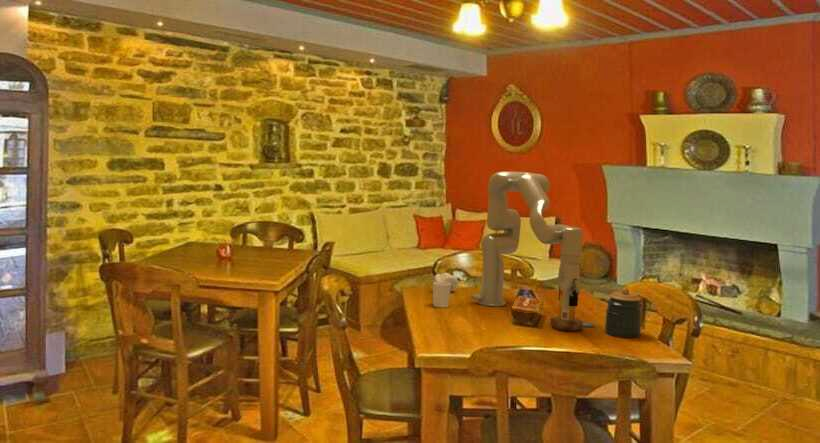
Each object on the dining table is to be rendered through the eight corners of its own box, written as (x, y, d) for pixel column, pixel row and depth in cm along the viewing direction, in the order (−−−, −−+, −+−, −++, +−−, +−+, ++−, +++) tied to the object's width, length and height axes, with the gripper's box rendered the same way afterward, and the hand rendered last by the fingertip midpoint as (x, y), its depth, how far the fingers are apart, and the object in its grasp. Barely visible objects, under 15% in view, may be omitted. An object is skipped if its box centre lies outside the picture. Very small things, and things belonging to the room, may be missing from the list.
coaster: (581, 327, 235) (581, 325, 235) (573, 322, 242) (573, 321, 242) (598, 327, 236) (598, 325, 236) (590, 322, 243) (590, 321, 243)
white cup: (429, 306, 260) (430, 283, 259) (435, 303, 267) (436, 280, 266) (446, 308, 257) (447, 285, 256) (452, 305, 264) (453, 282, 263)
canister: (636, 340, 220) (640, 293, 218) (600, 334, 226) (603, 288, 225) (643, 332, 231) (647, 287, 229) (609, 326, 238) (612, 282, 236)
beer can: (575, 319, 235) (577, 281, 234) (573, 323, 230) (576, 284, 228) (559, 317, 237) (561, 279, 236) (557, 321, 232) (559, 282, 230)
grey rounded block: (448, 296, 282) (449, 277, 281) (426, 292, 288) (427, 274, 287) (460, 292, 291) (460, 274, 290) (438, 288, 298) (439, 270, 297)
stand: (557, 332, 227) (558, 324, 226) (545, 323, 238) (546, 316, 238) (587, 332, 228) (588, 324, 228) (574, 323, 240) (574, 316, 240)
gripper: (552, 255, 239) (549, 297, 240) (570, 263, 222) (567, 308, 223) (570, 255, 240) (567, 297, 242) (590, 263, 223) (586, 308, 225)
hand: (567, 303), depth 232 cm, fingers open, 9 cm apart
